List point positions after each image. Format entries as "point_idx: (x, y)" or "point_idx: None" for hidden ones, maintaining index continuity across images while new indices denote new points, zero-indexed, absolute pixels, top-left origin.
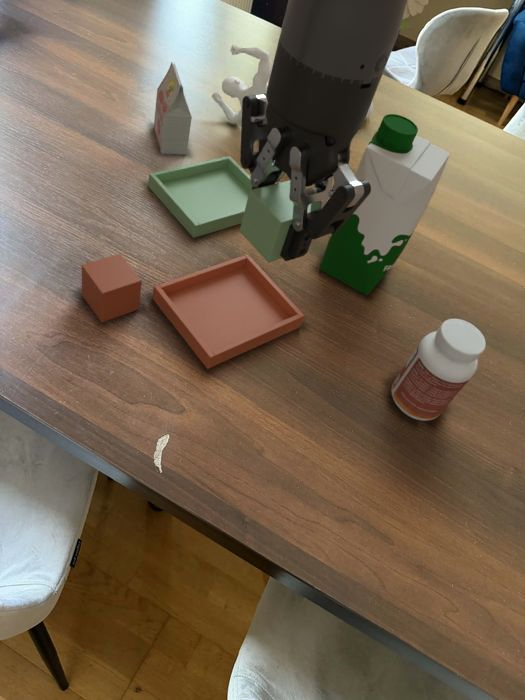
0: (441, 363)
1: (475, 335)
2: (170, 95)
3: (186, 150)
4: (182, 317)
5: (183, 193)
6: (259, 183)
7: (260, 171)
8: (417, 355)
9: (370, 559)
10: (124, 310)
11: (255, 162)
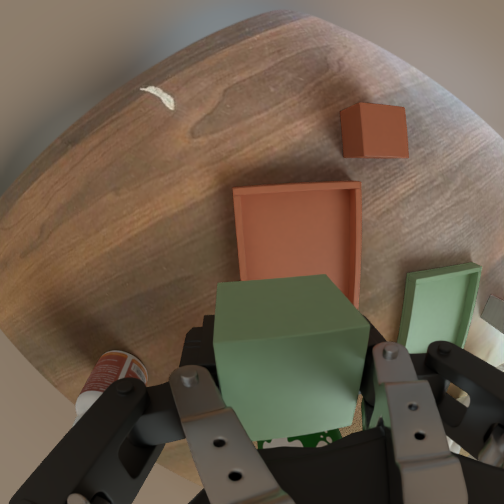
0: (87, 403)
1: None
2: None
3: (483, 318)
4: (304, 188)
5: (453, 291)
6: (374, 358)
7: (396, 376)
8: None
9: (16, 231)
10: (344, 137)
11: (427, 375)
